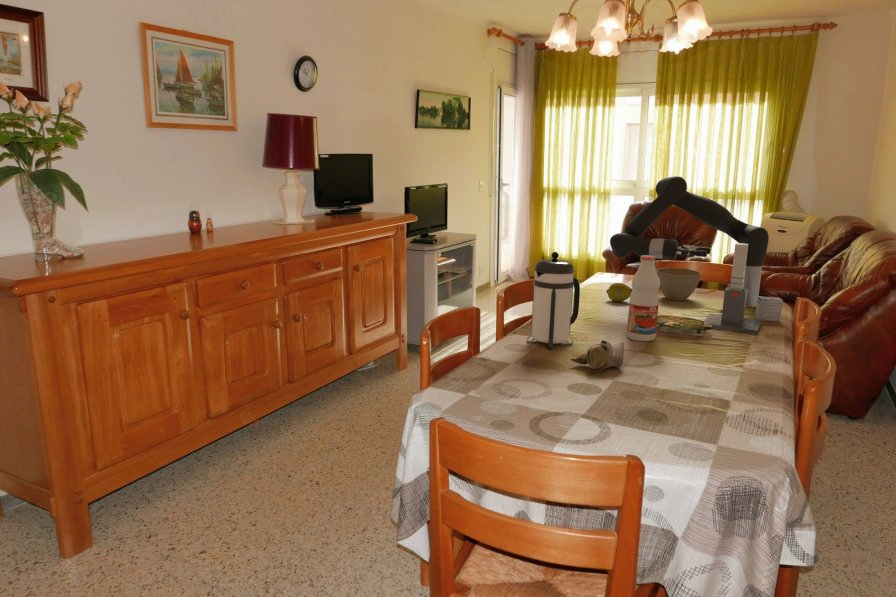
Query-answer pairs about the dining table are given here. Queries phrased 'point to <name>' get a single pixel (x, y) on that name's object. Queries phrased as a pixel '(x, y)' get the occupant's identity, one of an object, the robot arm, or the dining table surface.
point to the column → (739, 267)
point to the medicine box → (768, 308)
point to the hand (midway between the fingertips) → (708, 252)
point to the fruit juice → (644, 301)
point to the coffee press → (554, 301)
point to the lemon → (619, 292)
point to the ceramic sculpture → (602, 356)
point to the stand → (734, 314)
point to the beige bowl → (678, 282)
